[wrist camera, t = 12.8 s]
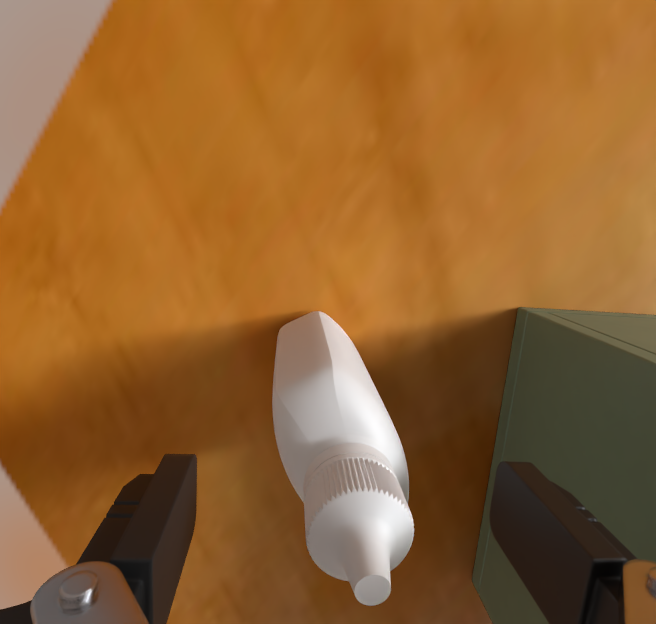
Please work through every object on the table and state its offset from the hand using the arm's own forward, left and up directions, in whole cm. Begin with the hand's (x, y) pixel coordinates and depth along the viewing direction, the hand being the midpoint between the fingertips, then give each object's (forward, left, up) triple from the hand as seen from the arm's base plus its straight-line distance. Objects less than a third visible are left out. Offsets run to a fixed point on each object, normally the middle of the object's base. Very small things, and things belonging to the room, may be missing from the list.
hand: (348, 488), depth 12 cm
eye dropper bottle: (0, 0, -9) cm, 9 cm away
